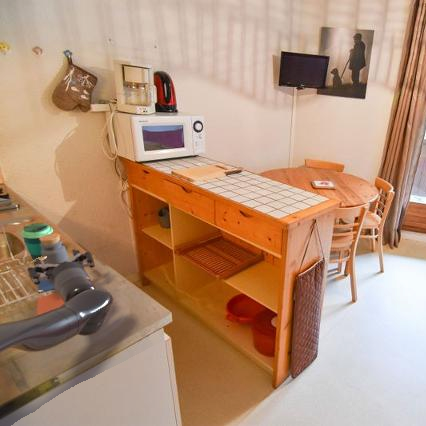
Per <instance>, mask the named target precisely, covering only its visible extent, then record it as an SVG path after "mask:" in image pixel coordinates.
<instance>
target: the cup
mask: <svg viewBox="0 0 426 426" xmlns="http://www.w3.org/2000/svg"><path fill="white" fill-rule="evenodd" d="M53 232H54V229H53V226H50V225H49V224H48V223H47V222H35V223H31V224H28V225H26V226H24V227H23V229H22V230H21V231H20V236H21V237H22V238H23V242H24V244H25V246H26V249H27V251H28V253H29V255H30V257H31V259H32V260H33V261H35V260H34V259H36V258H38V257H41V256H42V254H41V251H42V250H43V249H44V248H41V246H40V243H41V241H40V239H39V238H40V237H41V236H43V235H46V234H51V233H53Z"/></svg>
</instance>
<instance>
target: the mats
mask: <svg viewBox="0 0 426 426" xmlns="http://www.w3.org/2000/svg"><path fill="white" fill-rule="evenodd" d="M40 282H41V283H40V284H37V291H38V290H43V291H45V292H49V291H54V290H55V288H54V286H53V284H52V283H51V282H50V280H49V279H44V280H41V281H40ZM63 304H64V301H63V300H62V298H61V296H60V295H59V294H58V293H57V292H54V293H50V294H47V295H43V296H39V297H37V305H36V306H37V307H36V316H37V315H40V314H42V313H45V312H48V311H51V310H53V309H56V308H59V307H61V306H62V305H63Z"/></svg>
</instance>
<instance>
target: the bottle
mask: <svg viewBox="0 0 426 426" xmlns="http://www.w3.org/2000/svg"><path fill="white" fill-rule="evenodd" d="M39 239H40V241H41V243H40V246H41V248H44V249H43V250H42V251H41V254H42V257H44V256H47V258H46V259H44V260H42V261H43V265H45V264H57V263H62V262H64V261H69V260H70V259H69V256H68V252H67V249H66V246H64V244H63V240H62V239H61V238H60V234H59V233H57V232H56V233H55V232H54V233H53V232H52V233H51V234H46V235H43V236H41V237H40V238H39ZM62 244H63V245H62ZM50 282H51V280H50ZM51 283H52V282H51Z"/></svg>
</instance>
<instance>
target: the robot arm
mask: <svg viewBox="0 0 426 426" xmlns="http://www.w3.org/2000/svg"><path fill="white" fill-rule="evenodd" d="M71 252H72V256H71V257H70V259H69V261H64V262H62V263H57V264H45V265H44V263H43V264H42V262H41V260H39V259H36V260H34V261H33V265H34V267H28V268H27V272H28V275H29V278H30V280H31V282H33V284H34V285H37V286H38V284H40V283H41V282H40V281H41V280H44V279H49V280H51V282H52V284H53V286H54V288H55V289H54V291H55V293H58V294H59V295H60V296H61V298H62V300H63V301H64V304H63V305H62V306H61V307H59V308H56V309H53V310H51V311H48V312H45V313H42V314H40V315H37V314H36V315H34V316H30V317H26V318H22V319H18V320H14V321H7V322H2V323H1V322H0V354H1V353H3V352H5V351H6V350H10V349H16V350H18V351H23V352H29V353H39V352H45V351H48V350H51V349H53V348H55V347H57V346H59V345H61V344H63V343H65V342H67V341H69V340H72V339H73V338H74V337H76V336H83V337H86V336H91V335H94V334H95V333H97V332H99V330H101V328H102V327H103V325H104V323H105V321H106V319H107V317H108V314H109V312H110V311H111V309H112V307H113V304H114V297H113V295H112V294H111V293H110V291H108V290H106V289H103V288H97V287H96V285H95V284H94V283H93V281H92V278H91V276H90V275H89V273H88V272H87V271H86V269H85V268H87V267H89V268H95V267H96V265H95V261H94V258H93V256H92V254H91V253H90V251H86V252H84V253H82V252H81V251H80V250H79V249H78V250H76V249H72V250H71Z"/></svg>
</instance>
